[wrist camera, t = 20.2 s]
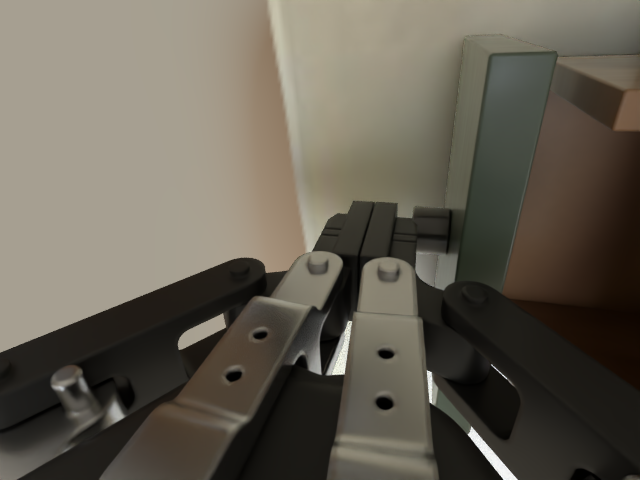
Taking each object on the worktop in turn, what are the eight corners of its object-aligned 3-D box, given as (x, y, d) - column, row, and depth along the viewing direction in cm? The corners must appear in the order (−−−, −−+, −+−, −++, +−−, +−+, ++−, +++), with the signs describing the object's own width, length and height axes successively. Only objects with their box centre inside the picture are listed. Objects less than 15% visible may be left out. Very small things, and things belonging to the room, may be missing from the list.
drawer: (407, 298, 19) (396, 421, 13) (427, 37, 13) (423, 55, 8) (636, 324, 17) (742, 487, 11) (781, 21, 11) (1161, 30, 5)
